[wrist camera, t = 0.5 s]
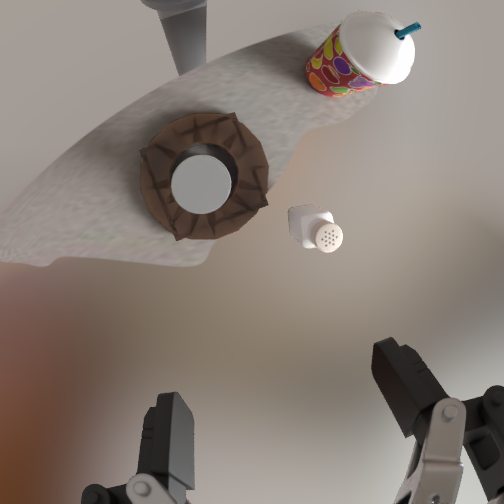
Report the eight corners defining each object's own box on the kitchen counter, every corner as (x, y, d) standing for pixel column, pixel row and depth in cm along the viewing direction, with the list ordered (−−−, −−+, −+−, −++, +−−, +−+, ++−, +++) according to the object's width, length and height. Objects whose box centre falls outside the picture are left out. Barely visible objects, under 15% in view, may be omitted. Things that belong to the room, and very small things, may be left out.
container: (230, 176, 35) (246, 185, 21) (203, 201, 35) (200, 228, 21) (205, 149, 33) (202, 139, 19) (177, 175, 34) (156, 184, 20)
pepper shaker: (288, 236, 38) (312, 259, 29) (286, 207, 37) (310, 222, 28) (316, 231, 39) (346, 253, 30) (314, 203, 37) (345, 217, 29)
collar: (128, 145, 31) (122, 144, 29) (240, 100, 32) (243, 96, 30) (172, 251, 37) (170, 257, 34) (279, 209, 37) (284, 212, 35)
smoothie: (351, 57, 31) (444, 9, 13) (352, 108, 34) (458, 84, 15) (296, 46, 30) (368, -29, 11) (296, 99, 33) (380, 51, 14)
